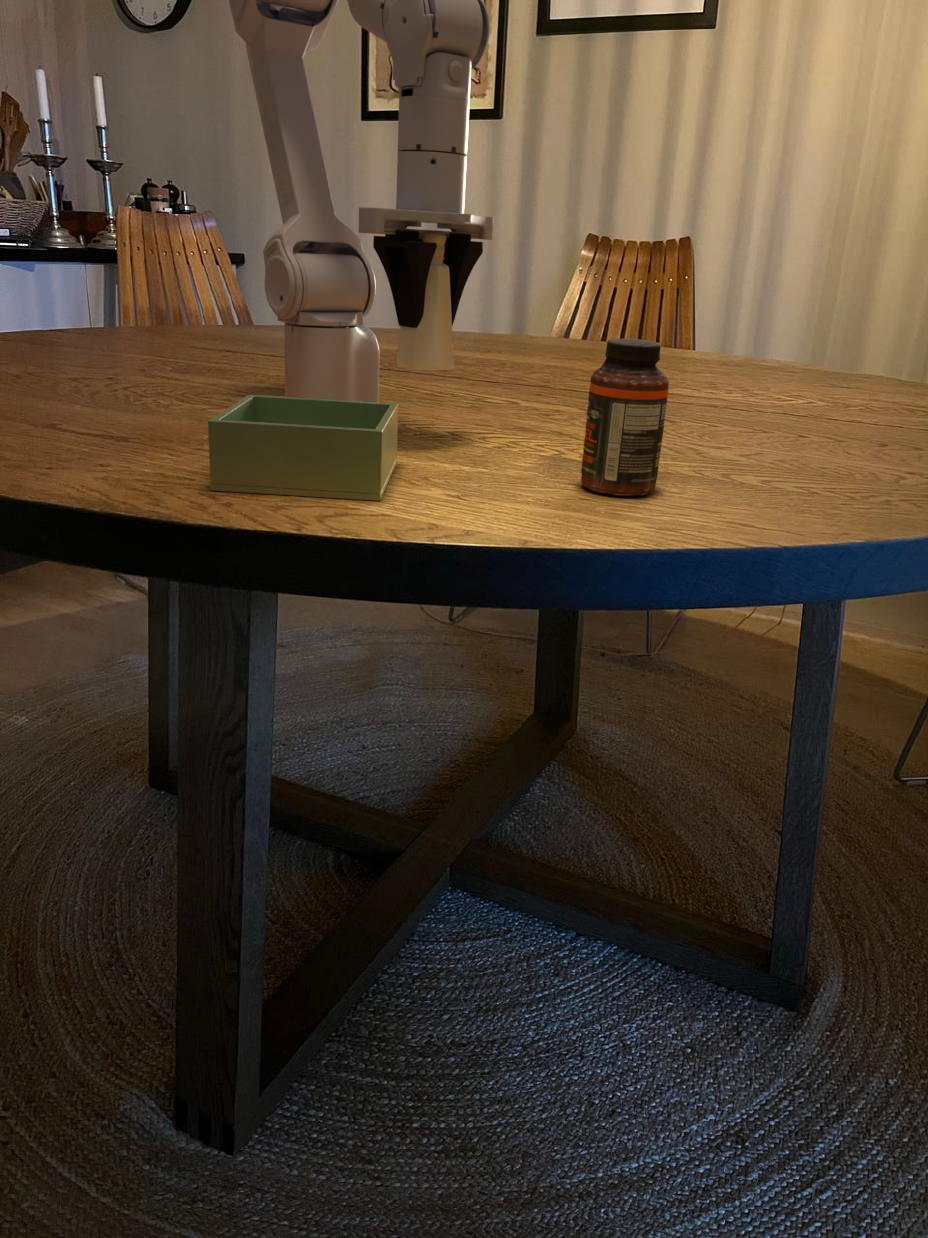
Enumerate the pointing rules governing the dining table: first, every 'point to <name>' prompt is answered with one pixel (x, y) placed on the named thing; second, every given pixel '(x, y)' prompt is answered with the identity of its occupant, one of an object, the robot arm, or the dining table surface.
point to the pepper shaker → (431, 319)
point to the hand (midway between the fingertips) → (425, 326)
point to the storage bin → (304, 447)
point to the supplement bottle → (625, 420)
